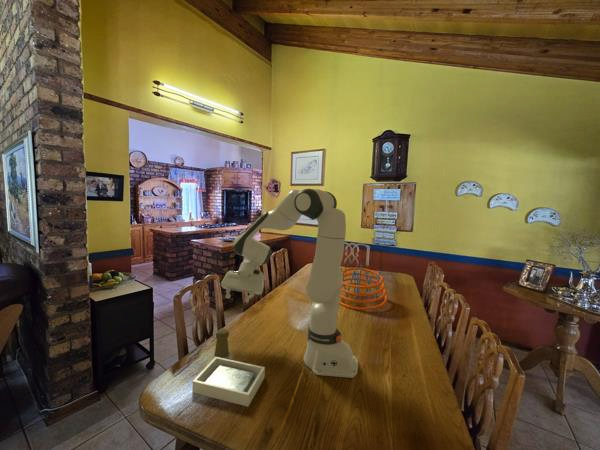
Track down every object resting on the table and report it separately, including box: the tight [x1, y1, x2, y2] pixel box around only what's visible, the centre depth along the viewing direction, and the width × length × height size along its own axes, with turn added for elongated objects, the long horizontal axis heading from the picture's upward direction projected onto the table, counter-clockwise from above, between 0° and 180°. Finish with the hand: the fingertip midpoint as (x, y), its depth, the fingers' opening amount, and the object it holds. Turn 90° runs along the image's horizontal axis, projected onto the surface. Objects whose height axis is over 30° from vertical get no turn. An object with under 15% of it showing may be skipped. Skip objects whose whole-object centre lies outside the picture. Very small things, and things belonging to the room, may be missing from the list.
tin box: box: [206, 365, 255, 392], centre depth 90 cm, size 14×10×2 cm
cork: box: [214, 328, 230, 359], centre depth 107 cm, size 6×6×11 cm
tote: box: [192, 356, 266, 408], centre depth 90 cm, size 20×14×5 cm
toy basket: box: [339, 263, 388, 311], centre depth 175 cm, size 34×35×24 cm
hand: (236, 299), depth 118 cm, fingers open, 8 cm apart
